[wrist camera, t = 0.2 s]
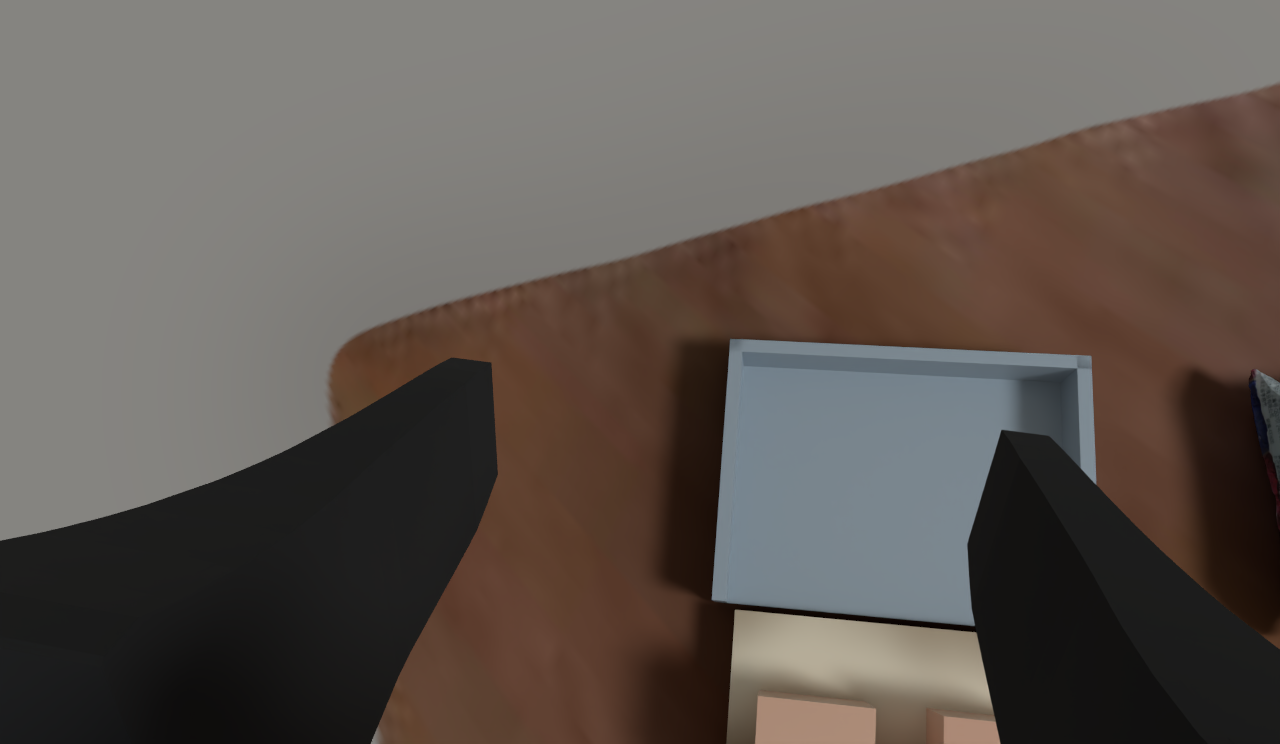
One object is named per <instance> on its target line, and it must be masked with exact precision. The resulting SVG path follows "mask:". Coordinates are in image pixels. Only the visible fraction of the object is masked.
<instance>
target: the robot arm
mask: <svg viewBox="0 0 1280 744" xmlns="http://www.w3.org/2000/svg"><path fill="white" fill-rule="evenodd" d="M497 475H498V470H497V453H496V436H495V418H494V401H493V384H492V367H491V363H490V362H482V361H474V360H467V359H459V358H450V359H448V360H446V361H444V362H442V363H440V364H438V365H437V366H435V367H433V368H431V369H430V370H428V371H426V372H425V373H423V374H421V375H419V376H418V377H416V378H414V379H413V380H411V381H409V382H408V383H406V384H405V385H403V386H401V387H400V388H398V389H396V390H395V391H393V392H391V393H390V394H388V395H386V396H384V397H383V398H381V399H379V400H378V401H376V402H374V403H373V404H371V405H369V406H368V407H366V408H364V409H362V410H361V411H359V412H357V413H356V414H354V415H352V416H350V417H349V418H347V419H345V420H343V421H341V422H339V423H337V424H335V425H334V426H332V427H330V428H328V429H326V430H324V431H322V432H321V433H319V434H317V435H315V436H313V437H311V438H309V439H307V440H305V441H303V442H302V443H300V444H298V445H296V446H294V447H292V448H290V449H288V450H286V451H284V452H282V453H280V454H277V455H275V456H273V457H271V458H269V459H266V460H264V461H262V462H260V463H258V464H255V465H253V466H251V467H248V468H246V469H244V470H241V471H239V472H236V473H234V474H231V475H229V476H227V477H224V478H222V479H219V480H216V481H214V482H211V483H208V484H205V485H202V486H199V487H197V488H194V489H191V490H188V491H185V492H182V493H179V494H177V495H173V496H171V497H168V498H165V499H163V500H159V501H156V502H153V503H150V504H148V505H144V506H141V507H138V508H134V509H131V510H127V511H124V512H120V513H117V514H114V515H110V516H106V517H103V518H99V519H95V520H91V521H87V522H83V523H79V524H75V525H72V526H68V527H64V528H59V529H55V530H51V531H46V532H42V533H37V534H32V535H27V536H22V537H17V538H12V539H7V540H2V541H0V744H371V741H372V739H373V736H374V734H375V732H376V729H377V727H378V724H379V722H380V720H381V717H382V715H383V712H384V710H385V708H386V705H387V703H388V700H389V698H390V696H391V693H392V691H393V688H394V686H395V683H396V681H397V679H398V676H399V674H400V672H401V670H402V668H403V666H404V664H405V662H406V660H407V658H408V656H409V654H410V652H411V650H412V648H413V646H414V644H415V643H416V641H417V639H418V637H419V635H420V634H421V632H422V630H423V628H424V626H425V625H426V623H427V621H428V619H429V617H430V615H431V614H432V612H433V610H434V608H435V606H436V605H437V603H438V601H439V599H440V597H441V595H442V594H443V592H444V590H445V588H446V586H447V585H448V583H449V581H450V579H451V577H452V576H453V574H454V572H455V570H456V568H457V566H458V565H459V563H460V561H461V559H462V557H463V555H464V553H465V552H466V550H467V548H468V546H469V544H470V542H471V540H472V538H473V536H474V535H475V533H476V531H477V528H478V526H479V523H480V521H481V518H482V516H483V513H484V511H485V508H486V505H487V503H488V500H489V497H490V494H491V492H492V489H493V486H494V483H495V480H496V478H497ZM967 550H968V567H969V583H970V595H971V607H972V613H973V618H974V623H975V628H976V633H977V638H978V642H979V647H980V652H981V657H982V661H983V666H984V671H985V675H986V680H987V684H988V689H989V693H990V698H991V703H992V707H993V712H994V716H995V721H996V726H997V730H998V735H999V739H1000V744H1280V649H1278V648H1277V647H1276V646H1274V645H1273V644H1272V643H1270V642H1269V641H1268V640H1267V639H1265V638H1264V637H1263V636H1261V635H1260V634H1259V633H1258V632H1256V631H1255V630H1254V629H1252V628H1251V627H1250V626H1249V625H1247V624H1246V623H1245V622H1243V621H1242V620H1241V619H1240V618H1238V617H1237V616H1236V615H1234V614H1233V613H1232V612H1231V611H1229V610H1228V609H1227V608H1226V607H1224V606H1223V605H1222V604H1221V603H1220V602H1218V601H1217V600H1216V599H1215V598H1214V597H1212V596H1211V595H1210V594H1209V593H1208V592H1206V591H1205V590H1204V589H1203V588H1202V587H1201V586H1200V585H1199V584H1197V583H1196V582H1195V581H1194V580H1193V579H1192V578H1191V577H1190V576H1189V575H1187V574H1186V573H1185V572H1184V571H1183V570H1182V569H1181V568H1180V567H1179V566H1177V565H1176V564H1175V563H1174V562H1173V561H1172V560H1171V559H1170V558H1169V557H1167V556H1166V555H1165V554H1164V553H1163V552H1162V551H1161V550H1160V549H1159V548H1158V547H1157V546H1156V545H1155V544H1154V543H1153V542H1152V541H1151V540H1150V539H1149V538H1148V537H1147V536H1146V535H1145V534H1144V533H1143V532H1142V531H1141V530H1140V529H1138V528H1137V527H1136V526H1135V525H1134V524H1133V522H1132V521H1131V520H1130V519H1129V518H1128V517H1127V516H1126V515H1125V514H1124V513H1123V512H1122V511H1121V510H1120V509H1119V508H1118V507H1117V506H1116V505H1115V504H1114V503H1113V502H1112V501H1111V500H1110V499H1109V498H1108V497H1107V496H1106V495H1105V494H1104V493H1103V492H1102V490H1101V489H1100V488H1099V487H1098V486H1097V485H1096V484H1095V483H1094V482H1093V481H1092V480H1091V479H1090V478H1089V477H1088V476H1087V475H1086V473H1085V472H1084V471H1083V470H1082V469H1081V468H1080V467H1079V466H1078V465H1077V464H1076V463H1075V462H1074V461H1073V460H1072V459H1071V458H1070V456H1069V455H1068V454H1067V453H1066V452H1065V451H1064V450H1063V449H1062V448H1061V447H1060V446H1059V445H1058V444H1057V443H1056V442H1055V441H1054V440H1053V439H1052V438H1051V437H1050V436H1047V435H1039V434H1032V433H1024V432H1016V431H1009V430H1001V433H1000V436H999V440H998V443H997V446H996V450H995V453H994V456H993V460H992V463H991V466H990V470H989V473H988V476H987V480H986V483H985V486H984V490H983V493H982V496H981V500H980V503H979V506H978V510H977V513H976V516H975V520H974V523H973V526H972V530H971V533H970V536H969V540H968V543H967Z"/></svg>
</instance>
